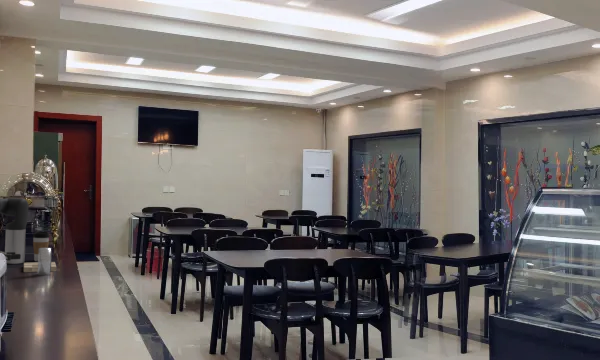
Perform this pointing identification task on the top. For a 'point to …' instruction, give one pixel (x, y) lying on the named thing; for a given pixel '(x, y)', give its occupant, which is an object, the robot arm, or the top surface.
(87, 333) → the top surface
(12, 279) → the top surface
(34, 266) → the mounting board
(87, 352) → the top surface
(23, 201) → the robot arm
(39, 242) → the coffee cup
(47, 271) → the grey cylinder
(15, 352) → the top surface
